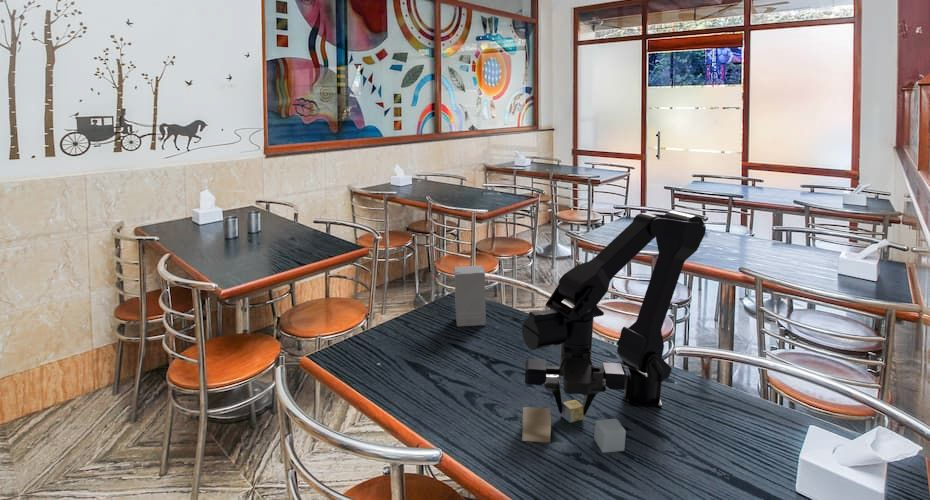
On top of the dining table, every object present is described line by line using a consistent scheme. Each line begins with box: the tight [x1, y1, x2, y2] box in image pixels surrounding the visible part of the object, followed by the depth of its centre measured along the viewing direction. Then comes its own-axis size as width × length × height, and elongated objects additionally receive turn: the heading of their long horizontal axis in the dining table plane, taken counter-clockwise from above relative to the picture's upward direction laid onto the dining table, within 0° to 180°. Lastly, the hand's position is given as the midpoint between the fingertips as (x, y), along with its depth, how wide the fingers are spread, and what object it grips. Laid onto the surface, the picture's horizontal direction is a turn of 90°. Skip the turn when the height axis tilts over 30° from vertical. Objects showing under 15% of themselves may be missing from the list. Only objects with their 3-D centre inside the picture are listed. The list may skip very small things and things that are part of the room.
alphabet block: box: [560, 399, 584, 423], centre depth 107 cm, size 3×3×3 cm
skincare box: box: [453, 265, 487, 327], centre depth 151 cm, size 8×7×16 cm
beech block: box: [521, 406, 552, 443], centre depth 102 cm, size 5×5×4 cm
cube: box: [593, 418, 627, 454], centre depth 98 cm, size 4×4×4 cm
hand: (572, 413), depth 107 cm, fingers closed on alphabet block, 4 cm apart
